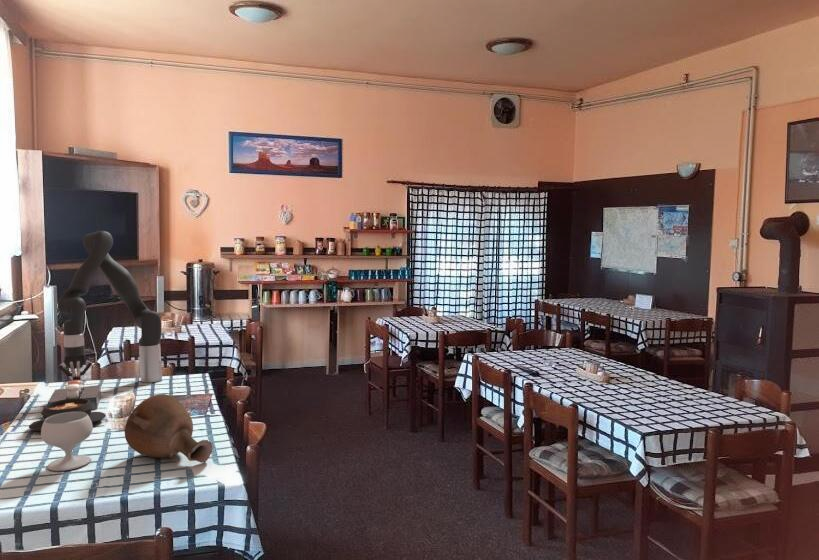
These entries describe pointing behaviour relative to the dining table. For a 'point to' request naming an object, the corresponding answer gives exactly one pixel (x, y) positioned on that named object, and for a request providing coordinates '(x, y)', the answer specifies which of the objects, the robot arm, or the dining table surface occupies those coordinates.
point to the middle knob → (76, 383)
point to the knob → (72, 391)
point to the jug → (164, 430)
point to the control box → (80, 395)
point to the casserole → (67, 410)
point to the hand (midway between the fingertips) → (76, 385)
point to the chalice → (67, 438)
